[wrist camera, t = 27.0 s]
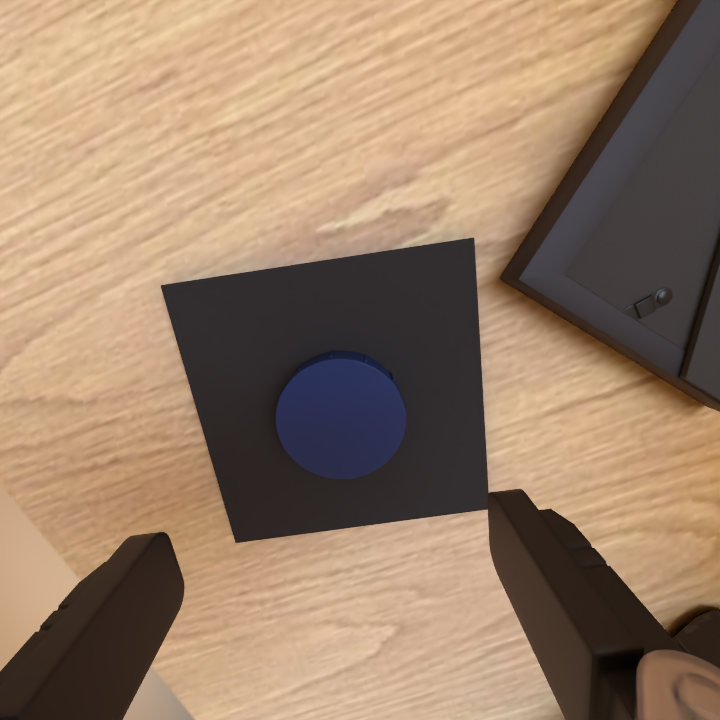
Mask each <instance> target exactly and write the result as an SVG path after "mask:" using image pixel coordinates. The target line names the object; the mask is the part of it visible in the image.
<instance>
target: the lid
mask: <svg viewBox="0 0 720 720" xmlns="http://www.w3.org/2000/svg"><path fill="white" fill-rule="evenodd" d="M279 397H280V398H279V401H278V404H277V409H276V428H277V433H278V436H279V439H280V441H281V443H282V445H283V447H284V449H285V450H286V452H287V453H288V454H289V456H290V457H291V458H292V459H293V460H294V461H295V462H296V463H297V464H299V465H300V466H301V467H303V468H304V469H306V470H308V471H310V472H312V473H314V474H316V475H319V476H323V477H326V478H333V479H351V478H356V477H360V476H363V475H366V474H369V473H371V472H373V471H375V470H376V469H378V468H380V467H381V466H382V465H384V464H385V463H386V462H387V461H388V460H389V459H390V458H391V457H392V456H393V455H394V453H395V452H396V451H397V449H398V447H399V446H400V444H401V441H402V439H403V437H404V433H405V428H406V411H407V410H406V406H405V404H404V401H403V399H402V397H401V394H400V391H399V388H398V386H397V384H396V382H395V380H394V377H393V374H392V373H391V372H390V373H389V372H388V371H387V369H386V368H385V367H383V366H382V365H381V364H380V363H379V362H377V361H376V360H374V359H372V358H370V357H368V356H367V354H364V355H363V354H360V353H357V352H352V351H334V350H332V351H331V352H327V353H323V354H320V355H317V356H315V357H313V358H311V359H309V360H308V361H307V362H305V363H304V362H302V363H301V365H300V367H299V368H298V369H297V370H296V371H295V373H294V374H293V375H292V377H291V378H290V380H289V381H288V383H287V385H286V386H284V388H283V389H282V391H281V393H280V394H279Z"/></svg>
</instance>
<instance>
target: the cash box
mask: <svg viewBox="0 0 720 720" xmlns="http://www.w3.org/2000/svg"><path fill="white" fill-rule="evenodd" d="M672 639H673V640H674V641H675V642H676V643H677V644H678V645H679V646H680V647H681V648H682V649H683V651H684V652H686V653H687V654H690V655H693V656H696V657H698V658H700V659H702V660H705V661H707V662H709V663H711V664H713V665H714V666H716V667H718V668H719V669H720V611H714V610H712V611H709V612H706V613H704V614H702V615H700V616H698V617H696V618H694V619H693V620H692V621H691V622H690V623H689V624H688V625H686V626H685V627H684V628H683V629H682V630H681V631H680V632H679V633H678V634H676V635H675V636H674V637H673V638H672Z"/></svg>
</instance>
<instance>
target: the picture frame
mask: <svg viewBox="0 0 720 720" xmlns="http://www.w3.org/2000/svg"><path fill="white" fill-rule="evenodd" d="M500 279H501V280H502V281H504V282H505V283H507V284H509V285H510V286H512V287H514V288H515V289H517V290H518V291H520V292H522V293H523V294H525V295H527V296H528V297H530V298H531V299H533V300H535V301H536V302H538V303H540V304H541V305H543V306H544V307H546V308H548V309H549V310H551V311H553V312H554V313H556V314H557V315H559V316H561V317H562V318H564V319H566V320H567V321H569V322H571V323H572V324H574V325H575V326H577V327H579V328H580V329H582V330H584V331H585V332H587V333H588V334H590V335H592V336H593V337H595V338H597V339H598V340H600V341H601V342H603V343H605V344H606V345H608V346H610V347H611V348H613V349H614V350H616V351H618V352H619V353H621V354H623V355H624V356H626V357H627V358H629V359H631V360H632V361H634V362H636V363H637V364H639V365H640V366H642V367H644V368H645V369H647V370H649V371H650V372H652V373H653V374H655V375H657V376H658V377H660V378H662V379H663V380H665V381H666V382H668V383H670V384H671V385H673V386H675V387H676V388H678V389H679V390H681V391H683V392H684V393H686V394H688V395H689V396H691V397H692V398H694V399H696V400H697V401H699V402H701V403H702V404H704V405H706V406H707V407H709V408H712V409H715V410H717V411H720V0H678V2H677V3H676V5H675V6H674V8H673V9H672V11H671V12H670V14H669V16H668V17H667V19H666V20H665V22H664V23H663V25H662V26H661V28H660V30H659V31H658V33H657V34H656V36H655V37H654V39H653V40H652V42H651V44H650V45H649V47H648V48H647V50H646V51H645V53H644V54H643V56H642V58H641V59H640V61H639V62H638V64H637V65H636V67H635V68H634V70H633V72H632V73H631V75H630V76H629V78H628V79H627V81H626V82H625V84H624V86H623V87H622V89H621V90H620V92H619V93H618V95H617V96H616V98H615V100H614V101H613V103H612V104H611V106H610V107H609V109H608V110H607V112H606V114H605V115H604V117H603V118H602V120H601V121H600V123H599V124H598V126H597V127H596V129H595V131H594V132H593V134H592V135H591V137H590V138H589V140H588V141H587V143H586V145H585V146H584V148H583V149H582V151H581V152H580V154H579V155H578V157H577V159H576V160H575V162H574V163H573V165H572V166H571V168H570V169H569V171H568V173H567V174H566V176H565V177H564V179H563V180H562V182H561V183H560V185H559V187H558V188H557V190H556V191H555V193H554V194H553V196H552V197H551V199H550V201H549V202H548V204H547V205H546V207H545V208H544V210H543V211H542V213H541V215H540V216H539V218H538V219H537V221H536V222H535V224H534V225H533V227H532V229H531V230H530V232H529V233H528V235H527V236H526V238H525V239H524V241H523V243H522V244H521V246H520V247H519V249H518V250H517V252H516V253H515V255H514V257H513V258H512V260H511V261H510V263H509V264H508V266H507V267H506V269H505V271H504V272H503V274H502V275H501V277H500Z"/></svg>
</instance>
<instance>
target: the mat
mask: <svg viewBox="0 0 720 720" xmlns="http://www.w3.org/2000/svg"><path fill="white" fill-rule="evenodd" d="M161 288H162V292H163V295H164V299H165V302H166V306H167V309H168V312H169V316H170V319H171V323H172V326H173V330H174V333H175V336H176V340H177V343H178V347H179V350H180V354H181V357H182V360H183V364H184V367H185V371H186V374H187V378H188V381H189V384H190V388H191V391H192V395H193V398H194V402H195V405H196V409H197V412H198V415H199V419H200V422H201V426H202V429H203V433H204V436H205V439H206V443H207V446H208V450H209V453H210V457H211V460H212V463H213V467H214V470H215V474H216V477H217V481H218V484H219V487H220V491H221V494H222V498H223V501H224V505H225V508H226V511H227V515H228V518H229V522H230V525H231V529H232V532H233V535H234V539H235V542H236V543H239V542H246V541H254V540H261V539H269V538H276V537H284V536H291V535H299V534H306V533H314V532H321V531H329V530H336V529H344V528H351V527H359V526H366V525H373V524H381V523H388V522H396V521H403V520H411V519H418V518H426V517H433V516H441V515H448V514H456V513H463V512H471V511H478V510H486V509H488V494H489V493H488V476H487V458H486V440H485V422H484V405H483V387H482V369H481V351H480V334H479V316H478V298H477V280H476V263H475V245H474V238H468V239H462V240H455V241H449V242H442V243H435V244H429V245H422V246H416V247H409V248H403V249H396V250H390V251H383V252H376V253H370V254H363V255H357V256H350V257H344V258H337V259H331V260H324V261H317V262H311V263H304V264H298V265H291V266H285V267H278V268H272V269H265V270H258V271H252V272H245V273H239V274H232V275H226V276H219V277H213V278H206V279H199V280H193V281H186V282H180V283H173V284H167V285H162V286H161ZM332 350H334V351H352V352H357V353H360V354H363V355H364V354H367V356H368V357H370V358H372V359H374V360H376V361H377V362H379V363H380V364H381V365H382V366H383V367H385V368H386V369H387V371H388V372H389V373H390V372H391V373H392V374H393V377H394V380H395V382H396V384H397V386H398V388H399V391H400V394H401V397H402V399H403V401H404V404H405V406H406V410H407V411H406V428H405V433H404V437H403V439H402V441H401V444H400V446H399V447H398V449H397V451H396V452H395V453H394V455H393V456H392V457H391V458H390V459H389V460H388V461H387V462H386V463H385V464H384V465H382V466H381V467H380V468H378V469H376V470H375V471H373V472H371V473H369V474H366V475H363V476H360V477H356V478H351V479H333V478H326V477H323V476H319V475H316V474H314V473H312V472H310V471H308V470H306V469H304V468H303V467H301V466H300V465H299V464H297V463H296V462H295V461H294V460H293V459H292V458H291V457H290V456H289V454H288V453H287V452H286V450H285V449H284V447H283V445H282V443H281V441H280V439H279V436H278V433H277V428H276V409H277V404H278V401H279V398H280V397H279V394H280V393H281V391H282V389H283V388H284V386H286V385H287V383H288V381H289V380H290V378H291V377H292V375H293V374H294V373H295V371H296V370H297V369H298V368H299V367H300V365H301V363H302V362H304V363H305V362H307V361H308V360H309V359H311V358H313V357H315V356H317V355H320V354H323V353H327V352H331V351H332Z"/></svg>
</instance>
